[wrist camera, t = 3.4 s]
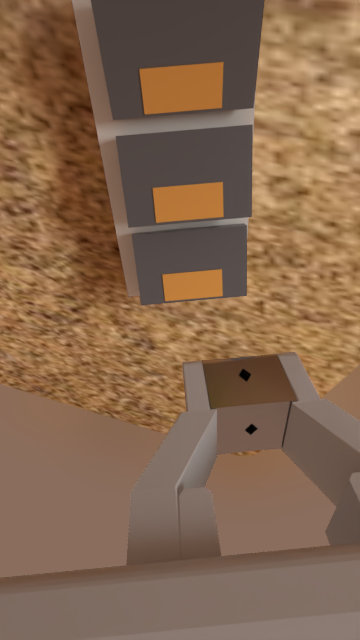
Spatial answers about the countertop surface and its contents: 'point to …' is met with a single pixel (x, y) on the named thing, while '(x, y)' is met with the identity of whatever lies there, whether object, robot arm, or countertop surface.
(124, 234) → the rocker switch box
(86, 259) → the countertop surface
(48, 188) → the countertop surface
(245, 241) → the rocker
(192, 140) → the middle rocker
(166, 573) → the robot arm
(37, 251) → the countertop surface
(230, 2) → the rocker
